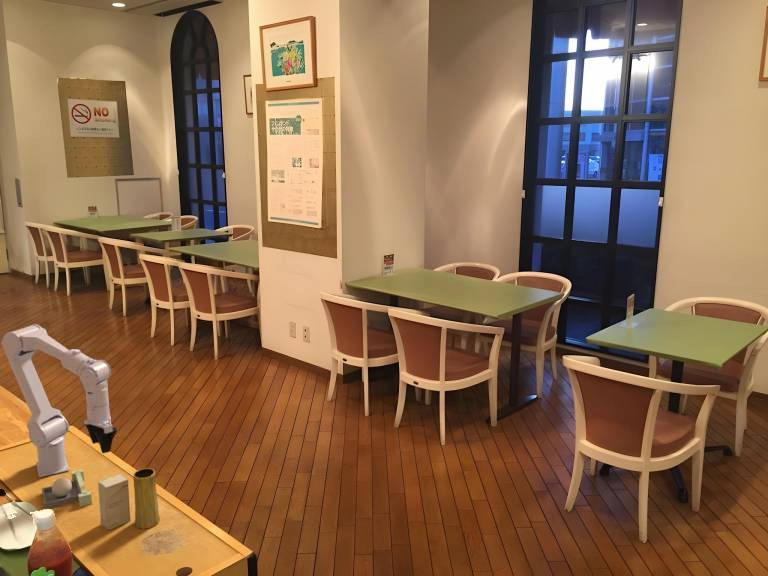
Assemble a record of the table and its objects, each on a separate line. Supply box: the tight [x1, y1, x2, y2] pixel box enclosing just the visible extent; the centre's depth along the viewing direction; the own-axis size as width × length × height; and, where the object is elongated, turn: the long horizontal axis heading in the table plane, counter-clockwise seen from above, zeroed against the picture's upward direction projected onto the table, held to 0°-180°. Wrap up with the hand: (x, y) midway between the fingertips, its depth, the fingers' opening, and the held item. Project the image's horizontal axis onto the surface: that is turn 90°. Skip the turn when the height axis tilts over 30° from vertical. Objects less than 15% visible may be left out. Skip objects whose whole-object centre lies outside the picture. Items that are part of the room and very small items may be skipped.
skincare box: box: [97, 473, 131, 531], centre depth 165 cm, size 6×4×12 cm
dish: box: [41, 480, 81, 509], centre depth 177 cm, size 9×9×2 cm
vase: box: [133, 467, 160, 530], centre depth 165 cm, size 6×6×14 cm
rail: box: [70, 468, 93, 508], centre depth 179 cm, size 16×3×3 cm, turn 33°
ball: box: [51, 477, 72, 497], centre depth 176 cm, size 5×5×5 cm
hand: (101, 447), depth 184 cm, fingers open, 7 cm apart
